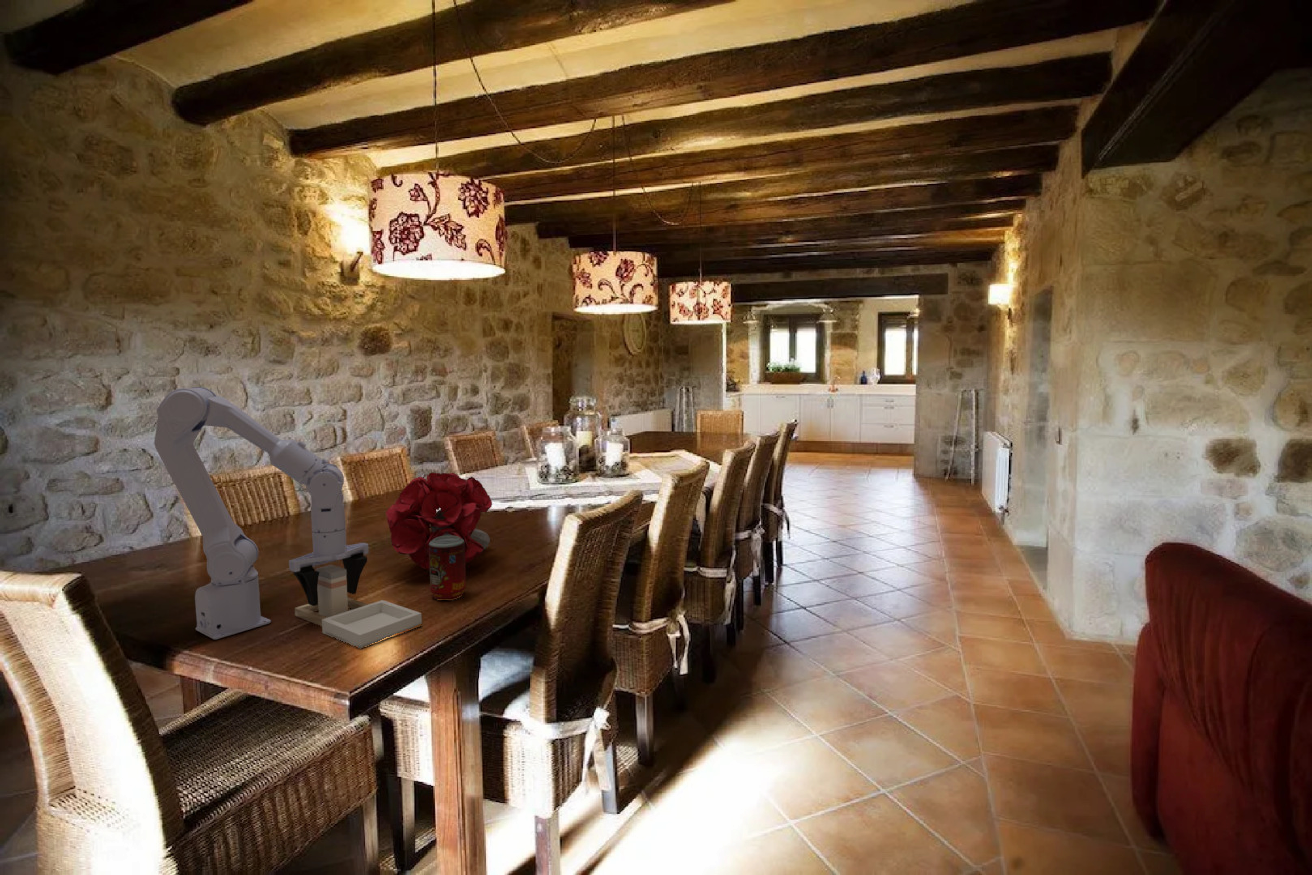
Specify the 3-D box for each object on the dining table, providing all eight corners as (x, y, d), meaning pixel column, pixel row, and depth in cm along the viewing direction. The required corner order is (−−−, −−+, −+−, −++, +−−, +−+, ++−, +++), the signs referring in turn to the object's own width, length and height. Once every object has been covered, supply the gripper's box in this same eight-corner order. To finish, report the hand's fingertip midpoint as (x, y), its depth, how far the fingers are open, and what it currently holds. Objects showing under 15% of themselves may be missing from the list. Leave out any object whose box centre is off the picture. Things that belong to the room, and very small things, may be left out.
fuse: (333, 619, 124) (330, 573, 123) (318, 614, 127) (315, 568, 126) (348, 614, 126) (346, 569, 125) (334, 609, 129) (331, 564, 128)
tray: (360, 649, 111) (360, 635, 111) (322, 632, 118) (321, 619, 117) (421, 626, 121) (421, 613, 121) (383, 612, 128) (382, 599, 127)
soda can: (422, 599, 135) (421, 540, 133) (446, 588, 141) (445, 532, 140) (450, 604, 132) (448, 544, 131) (473, 593, 138) (471, 536, 137)
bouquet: (429, 576, 170) (354, 547, 144) (459, 491, 178) (393, 448, 152) (502, 591, 163) (438, 563, 137) (530, 502, 172) (473, 458, 145)
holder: (326, 628, 120) (325, 620, 120) (295, 615, 126) (294, 607, 126) (371, 613, 127) (371, 605, 127) (340, 601, 133) (339, 594, 133)
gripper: (301, 540, 117) (305, 614, 118) (376, 524, 128) (379, 591, 130) (281, 534, 121) (286, 606, 122) (355, 519, 132) (359, 585, 134)
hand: (332, 598), depth 126 cm, fingers open, 7 cm apart
